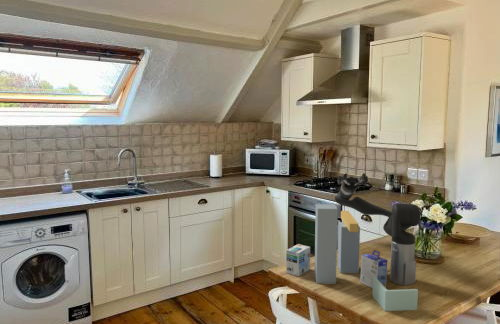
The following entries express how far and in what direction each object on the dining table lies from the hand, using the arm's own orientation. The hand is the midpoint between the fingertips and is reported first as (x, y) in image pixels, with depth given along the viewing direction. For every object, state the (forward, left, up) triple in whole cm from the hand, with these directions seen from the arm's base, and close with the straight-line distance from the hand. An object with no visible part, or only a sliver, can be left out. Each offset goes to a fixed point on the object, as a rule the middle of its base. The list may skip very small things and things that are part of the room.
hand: (355, 175), depth 192 cm
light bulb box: (-3, +34, -41) cm, 54 cm away
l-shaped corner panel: (-44, +19, -41) cm, 63 cm away
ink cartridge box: (-30, +15, -41) cm, 53 cm away
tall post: (-16, +29, -41) cm, 53 cm away
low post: (-12, +13, -41) cm, 45 cm away
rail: (-11, +13, -20) cm, 26 cm away
